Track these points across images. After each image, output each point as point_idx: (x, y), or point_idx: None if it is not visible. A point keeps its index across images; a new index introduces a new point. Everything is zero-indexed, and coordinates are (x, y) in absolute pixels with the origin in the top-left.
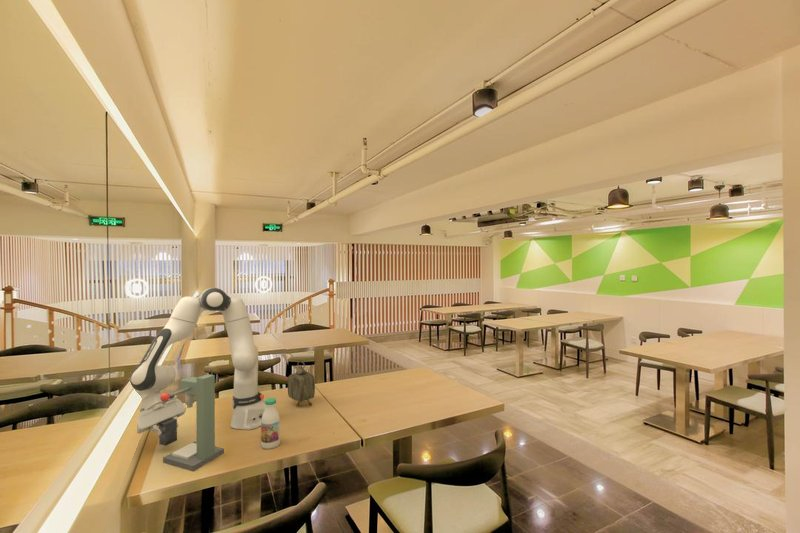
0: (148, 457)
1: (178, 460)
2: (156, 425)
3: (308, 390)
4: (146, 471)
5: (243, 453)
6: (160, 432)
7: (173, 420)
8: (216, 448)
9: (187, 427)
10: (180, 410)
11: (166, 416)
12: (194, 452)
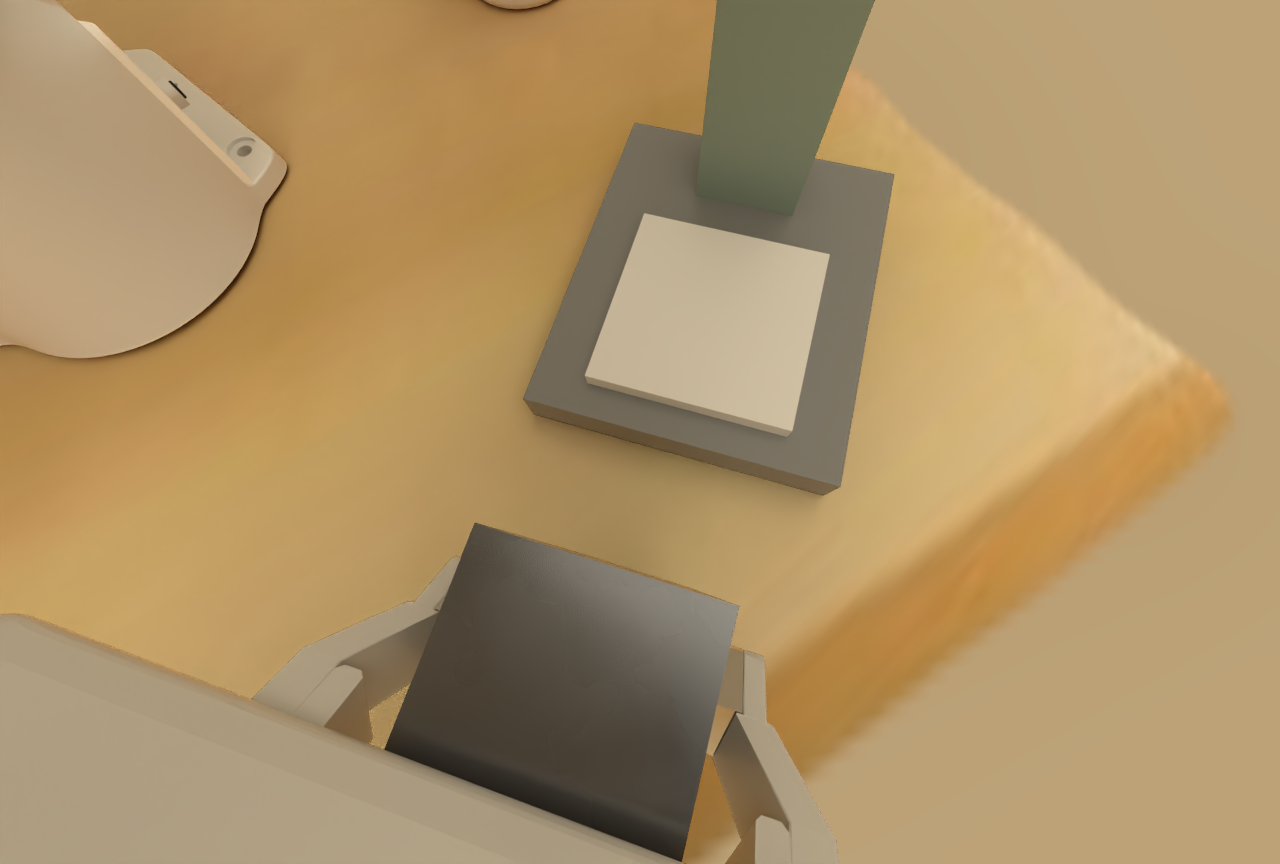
0: (769, 722)
1: (852, 321)
2: (761, 856)
3: None
4: (970, 534)
5: (629, 57)
6: (758, 664)
7: (525, 562)
8: (639, 166)
9: None
10: (5, 704)
11: (423, 860)
12: (748, 251)
